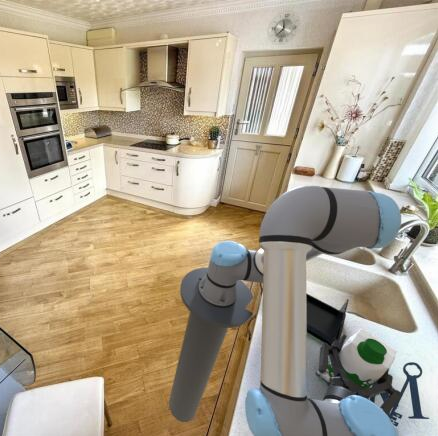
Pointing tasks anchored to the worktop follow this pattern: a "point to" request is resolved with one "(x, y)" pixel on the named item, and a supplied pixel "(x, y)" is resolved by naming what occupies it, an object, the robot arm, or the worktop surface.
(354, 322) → the worktop surface
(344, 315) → the black tray
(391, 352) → the soya milk
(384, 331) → the worktop surface
